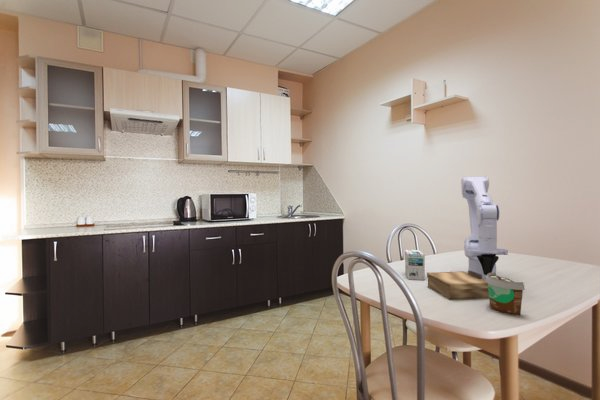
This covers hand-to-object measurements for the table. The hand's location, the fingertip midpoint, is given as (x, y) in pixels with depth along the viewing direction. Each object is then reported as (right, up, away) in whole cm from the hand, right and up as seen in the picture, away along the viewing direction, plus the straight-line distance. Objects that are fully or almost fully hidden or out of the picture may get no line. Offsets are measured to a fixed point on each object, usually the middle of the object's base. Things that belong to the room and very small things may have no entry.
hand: (487, 274), depth 113 cm
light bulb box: (-19, -6, +20) cm, 28 cm away
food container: (-7, -7, -18) cm, 20 cm away
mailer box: (-11, -6, -1) cm, 13 cm away
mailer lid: (-11, -2, -1) cm, 12 cm away
